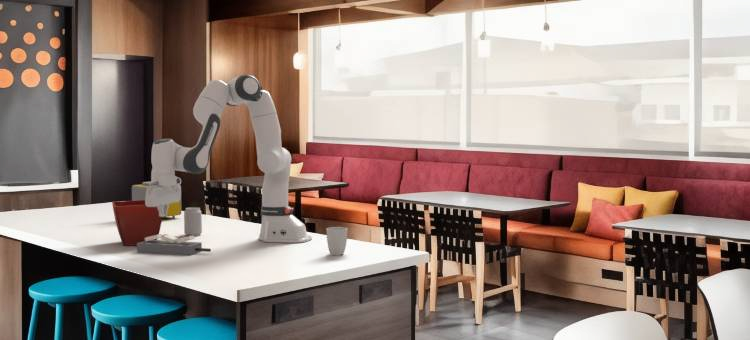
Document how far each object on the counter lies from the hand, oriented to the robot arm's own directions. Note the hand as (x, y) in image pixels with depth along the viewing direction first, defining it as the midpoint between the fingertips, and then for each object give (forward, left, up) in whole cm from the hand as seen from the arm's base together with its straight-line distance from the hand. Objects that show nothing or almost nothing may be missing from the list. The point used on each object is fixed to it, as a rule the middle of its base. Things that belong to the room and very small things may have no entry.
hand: (163, 216), depth 333 cm
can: (+9, -41, -14) cm, 44 cm away
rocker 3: (-10, 0, -9) cm, 13 cm away
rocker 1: (+4, 0, -9) cm, 10 cm away
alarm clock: (+52, -83, -14) cm, 99 cm away
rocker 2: (-3, 0, -9) cm, 9 cm away
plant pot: (+20, -15, -14) cm, 29 cm away
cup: (-67, -14, -14) cm, 69 cm away
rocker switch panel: (-6, 0, -14) cm, 15 cm away
